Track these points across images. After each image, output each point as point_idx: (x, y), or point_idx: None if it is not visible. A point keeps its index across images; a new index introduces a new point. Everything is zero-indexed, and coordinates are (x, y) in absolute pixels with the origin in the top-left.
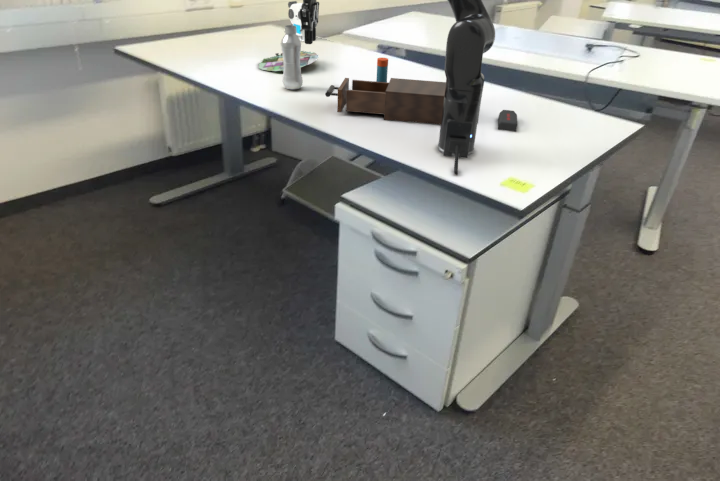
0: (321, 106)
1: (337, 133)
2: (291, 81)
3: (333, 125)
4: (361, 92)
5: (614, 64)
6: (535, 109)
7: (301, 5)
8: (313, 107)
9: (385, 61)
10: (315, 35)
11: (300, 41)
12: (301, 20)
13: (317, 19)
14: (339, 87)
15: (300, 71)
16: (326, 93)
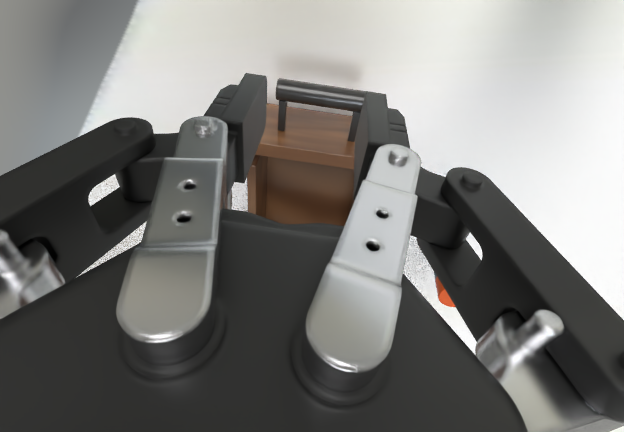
0: (332, 37)
1: (116, 102)
2: None
3: (168, 89)
4: (248, 201)
5: None
6: None
7: (117, 308)
8: (317, 4)
9: (438, 297)
10: (355, 162)
11: None
12: (19, 173)
13: (435, 257)
14: (263, 145)
15: None
16: (277, 85)
